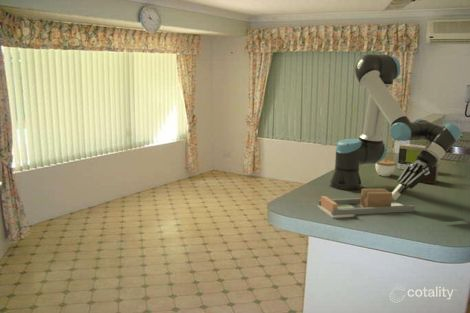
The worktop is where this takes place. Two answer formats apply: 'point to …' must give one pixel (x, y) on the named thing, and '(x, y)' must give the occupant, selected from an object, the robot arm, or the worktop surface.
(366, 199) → the walnut block
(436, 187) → the worktop surface
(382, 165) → the lidded jar
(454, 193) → the worktop surface
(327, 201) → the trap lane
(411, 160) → the tea box
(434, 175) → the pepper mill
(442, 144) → the robot arm
